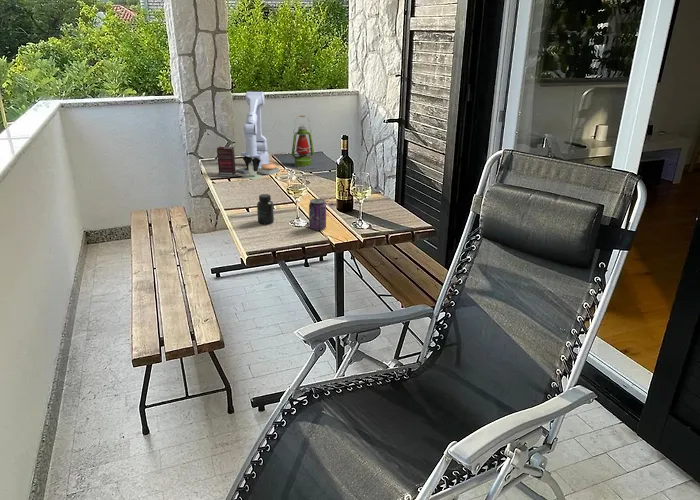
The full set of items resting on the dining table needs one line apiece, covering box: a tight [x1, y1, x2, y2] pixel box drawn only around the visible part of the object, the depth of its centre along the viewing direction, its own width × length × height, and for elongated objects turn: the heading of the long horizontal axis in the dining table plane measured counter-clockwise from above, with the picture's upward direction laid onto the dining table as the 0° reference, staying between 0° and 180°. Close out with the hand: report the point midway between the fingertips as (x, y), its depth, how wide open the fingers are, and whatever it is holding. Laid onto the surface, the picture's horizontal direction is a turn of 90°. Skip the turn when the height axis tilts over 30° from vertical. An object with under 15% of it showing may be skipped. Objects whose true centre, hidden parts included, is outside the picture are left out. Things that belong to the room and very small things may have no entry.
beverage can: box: [308, 198, 327, 231], centre depth 221 cm, size 7×7×12 cm
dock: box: [236, 166, 259, 176], centre depth 305 cm, size 10×10×2 cm
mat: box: [241, 174, 265, 181], centre depth 296 cm, size 9×9×1 cm
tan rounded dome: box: [261, 163, 277, 169], centre depth 303 cm, size 8×8×4 cm
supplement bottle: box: [256, 193, 275, 226], centre depth 226 cm, size 7×7×12 cm
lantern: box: [291, 115, 315, 167], centre depth 316 cm, size 14×11×30 cm
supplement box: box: [216, 146, 237, 177], centre depth 295 cm, size 9×5×16 cm, turn 84°
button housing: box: [258, 167, 280, 176], centre depth 304 cm, size 8×8×3 cm
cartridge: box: [248, 162, 258, 176], centre depth 294 cm, size 4×4×6 cm
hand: (252, 170), depth 294 cm, fingers closed on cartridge, 4 cm apart
